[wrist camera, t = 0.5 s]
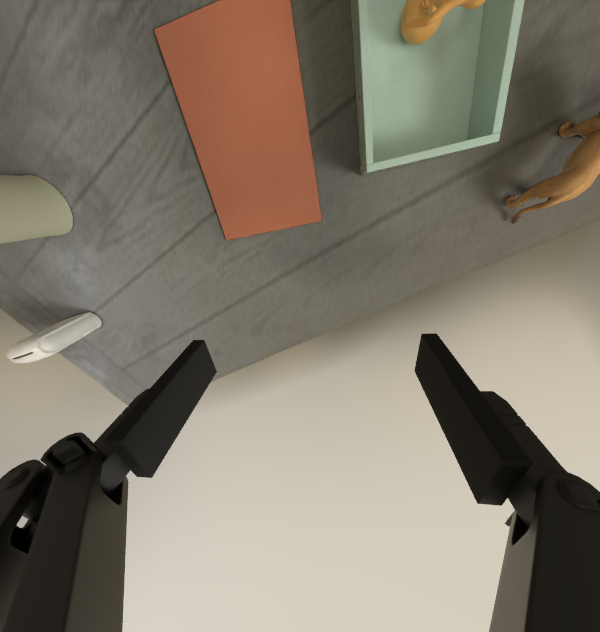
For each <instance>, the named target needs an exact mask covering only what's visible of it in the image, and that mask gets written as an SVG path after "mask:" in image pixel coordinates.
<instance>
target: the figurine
mask: <svg viewBox="0 0 600 632" xmlns="http://www.w3.org/2000/svg"><path fill="white" fill-rule="evenodd" d="M485 1H486V0H406V3H405V5H404V8H403V12H402V17H401V27H400V29H401V31H400V32H399V33H401V32H402V35H403V37H404V39H405V40H406V41H407V42H408V43H409V44H411V45H419V44H422V43H424V42H425V41H427V40H428V39H429V38H430V37H431V36H432V35H433V34H434V33H435V32H436V30H437V29H438V27H439V26H440V24H441V22H442V20H443V17H444V15H445V14H446V13H447V12H449V11H450V10H451V9H452V8H454V7H456V6H462V7H463V8H465V9H475V8H477V7H479V6H480V5H482V4H483V3H484V2H485Z"/></svg>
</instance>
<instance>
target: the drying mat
mask: <svg viewBox="0 0 600 632" xmlns="http://www.w3.org/2000/svg"><path fill="white" fill-rule="evenodd" d="M154 31H155V34H156V37H157V40H158V43H159V46H160V49H161V52H162V54H163V57H164V60H165V63H166V66H167V69H168V72H169V75H170V78H171V81H172V83H173V86H174V89H175V92H176V95H177V98H178V101H179V104H180V107H181V110H182V112H183V115H184V118H185V121H186V124H187V127H188V130H189V133H190V136H191V139H192V141H193V144H194V147H195V150H196V153H197V156H198V159H199V162H200V165H201V168H202V170H203V173H204V176H205V179H206V182H207V185H208V188H209V191H210V194H211V197H212V199H213V202H214V205H215V208H216V211H217V214H218V217H219V220H220V223H221V226H222V228H223V231H224V234H225V237H226V240H231V239H236V238H241V237H246V236H251V235H256V234H261V233H265V232H270V231H275V230H280V229H285V228H290V227H295V226H300V225H305V224H310V223H314V222H319V221H322V219H321V212H320V205H319V198H318V191H317V184H316V177H315V170H314V163H313V156H312V149H311V142H310V135H309V128H308V121H307V114H306V107H305V100H304V93H303V86H302V79H301V72H300V65H299V58H298V51H297V44H296V37H295V30H294V23H293V16H292V9H291V2H290V0H219V1H217V2H215V3H212V4H210V5H208V6H206V7H203V8H201V9H199V10H197V11H194V12H192V13H190V14H188V15H185V16H183V17H181V18H178V19H176V20H174V21H172V22H169V23H167V24H165V25H163V26H160V27H158V28H156V29H154Z"/></svg>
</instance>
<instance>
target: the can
mask: <svg viewBox="0 0 600 632" xmlns="http://www.w3.org/2000/svg"><path fill="white" fill-rule="evenodd" d="M72 226H73V216H72V212H71V209H70V207H69V205H68V203H67V201H66V200H65V198H64V197H63V196H62V195H61V193H60V192H59V191H58V190H57V189H56V188H55V187H54V186H53V185H51V184H50V183H49V182H47V181H46V180H44V179H42V178H39V177H37V176H33V175H24V176H13V175H0V244H3V243H9V242H15V241H21V240H28V239H34V238H40V237H47V236H54V235H65V234H67V233H69V232H70V231H71V229H72Z"/></svg>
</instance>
